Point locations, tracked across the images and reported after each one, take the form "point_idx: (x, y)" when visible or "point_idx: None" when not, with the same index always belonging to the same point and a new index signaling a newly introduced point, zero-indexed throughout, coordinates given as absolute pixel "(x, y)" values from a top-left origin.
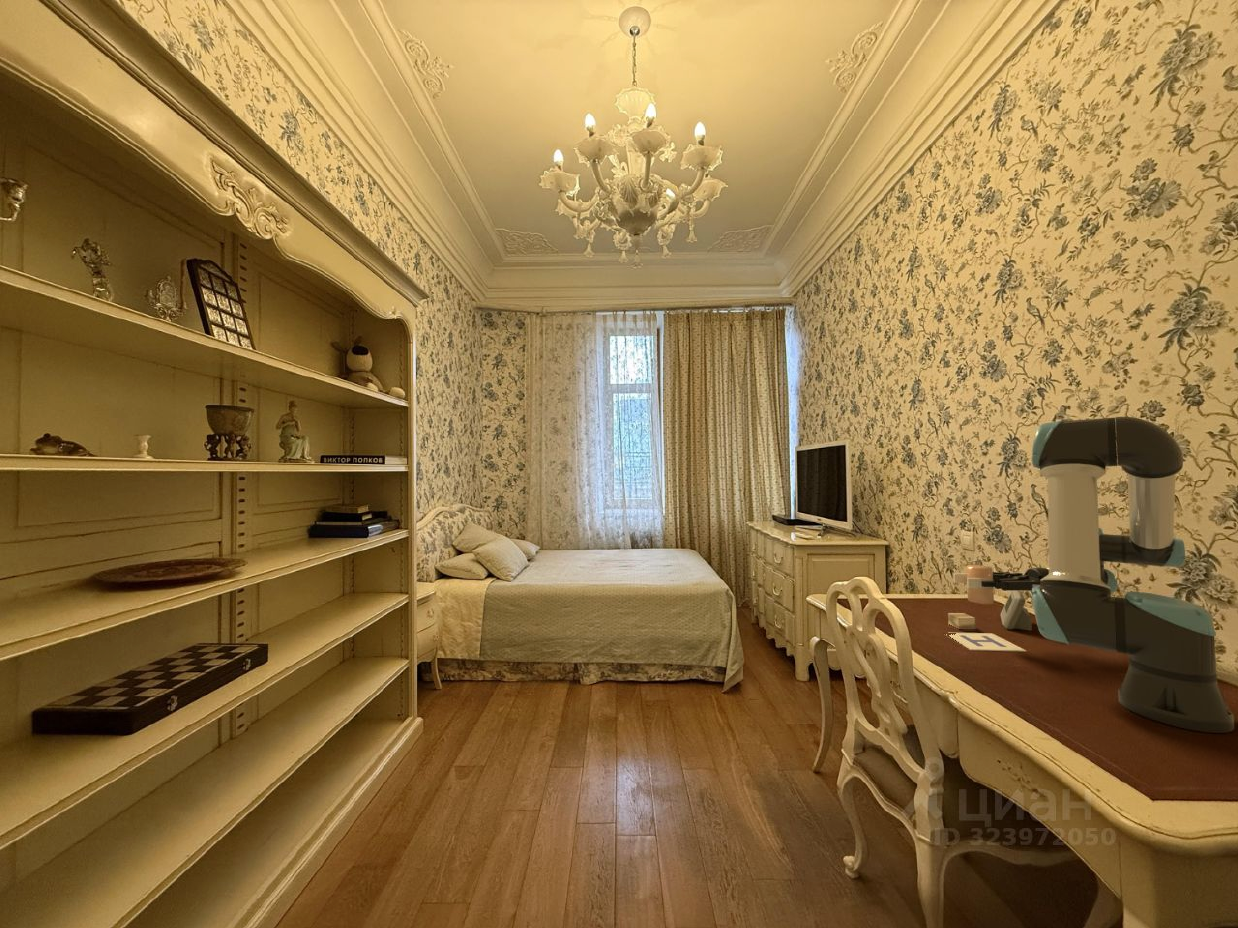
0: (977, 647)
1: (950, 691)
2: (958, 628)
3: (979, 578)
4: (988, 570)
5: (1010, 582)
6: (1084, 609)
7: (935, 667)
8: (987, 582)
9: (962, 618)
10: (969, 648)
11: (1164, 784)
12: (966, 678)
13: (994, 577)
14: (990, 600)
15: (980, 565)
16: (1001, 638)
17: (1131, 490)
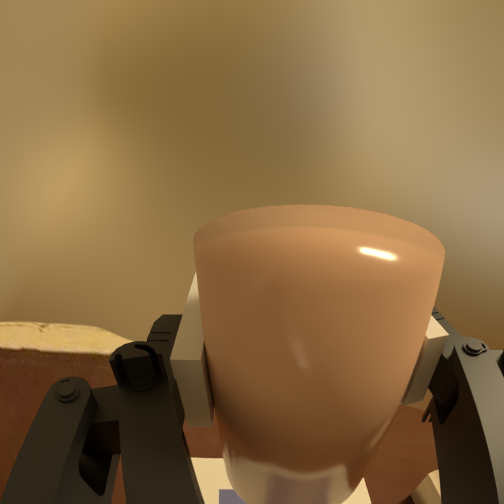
0: (207, 482)
1: (44, 326)
2: (413, 492)
3: (198, 293)
4: (196, 262)
5: (35, 435)
6: None
7: (109, 347)
8: (152, 333)
9: (433, 487)
10: (199, 458)
11: None
12: (60, 361)
13: (147, 345)
14: (227, 470)
15: (441, 252)
16: None
17: None
